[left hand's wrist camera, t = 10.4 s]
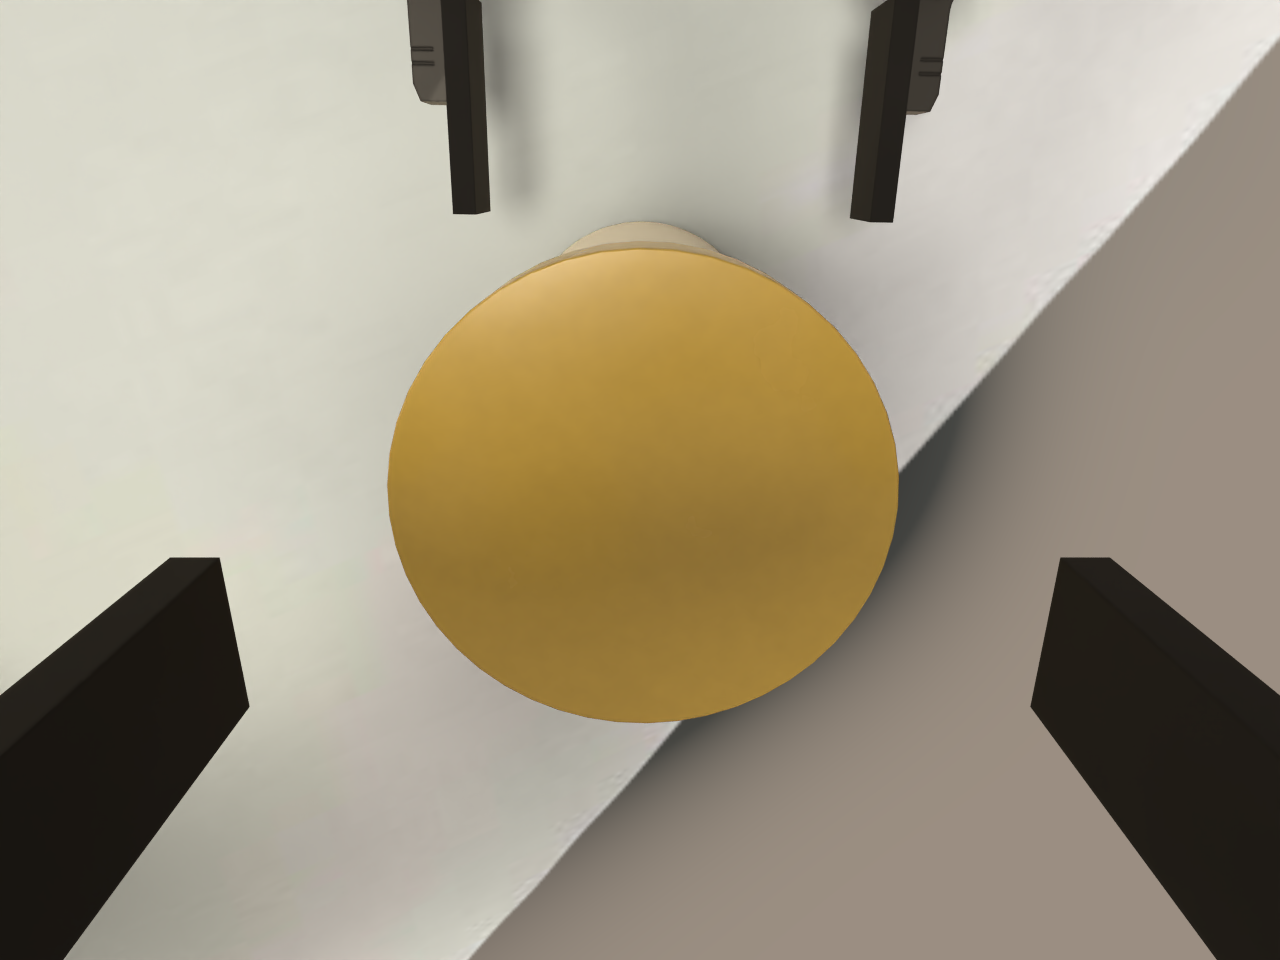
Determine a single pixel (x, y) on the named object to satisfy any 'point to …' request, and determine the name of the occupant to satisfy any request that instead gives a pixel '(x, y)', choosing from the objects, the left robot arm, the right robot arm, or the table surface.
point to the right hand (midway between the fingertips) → (671, 218)
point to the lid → (643, 483)
